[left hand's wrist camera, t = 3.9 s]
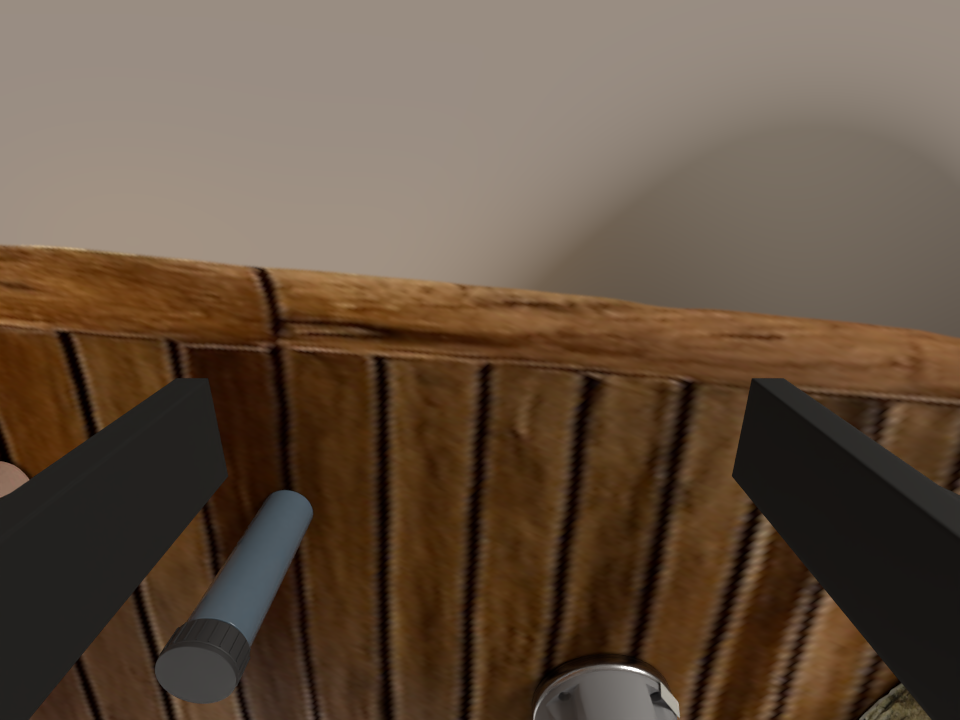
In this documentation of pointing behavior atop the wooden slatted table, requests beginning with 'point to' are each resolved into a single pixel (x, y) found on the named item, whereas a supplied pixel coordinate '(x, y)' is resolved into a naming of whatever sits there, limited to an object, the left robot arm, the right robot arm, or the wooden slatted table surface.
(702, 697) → the wooden slatted table surface
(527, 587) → the wooden slatted table surface
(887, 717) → the fossil
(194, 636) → the lid
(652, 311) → the wooden slatted table surface
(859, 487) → the left robot arm
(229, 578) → the blue-grey cylindrical bottle
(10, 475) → the anatomical model
